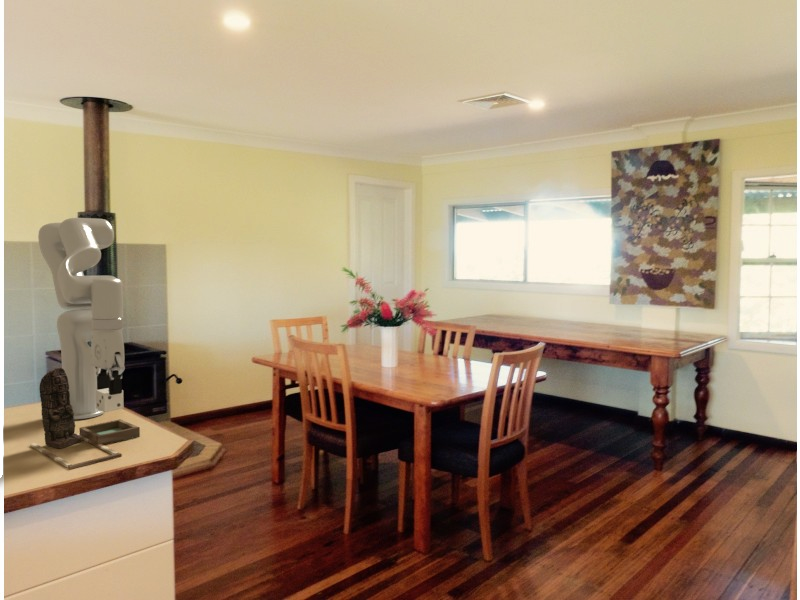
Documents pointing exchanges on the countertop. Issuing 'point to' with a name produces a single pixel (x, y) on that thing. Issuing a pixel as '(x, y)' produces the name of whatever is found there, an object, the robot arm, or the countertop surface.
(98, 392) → the die
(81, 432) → the dice tray
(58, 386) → the statue
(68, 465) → the brown rectangular frame
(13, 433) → the countertop surface
